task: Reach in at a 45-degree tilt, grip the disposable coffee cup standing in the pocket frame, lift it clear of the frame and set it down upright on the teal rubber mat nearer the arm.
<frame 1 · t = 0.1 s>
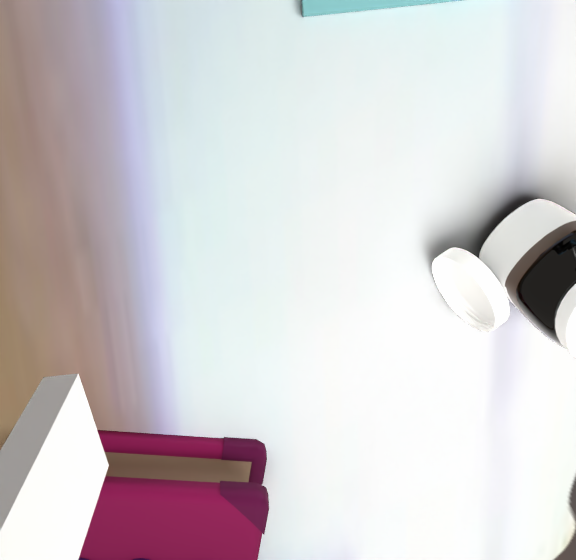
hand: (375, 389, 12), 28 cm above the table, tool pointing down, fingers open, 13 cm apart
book: (151, 531, 54), on the table
spread jar: (503, 258, 42), on the table
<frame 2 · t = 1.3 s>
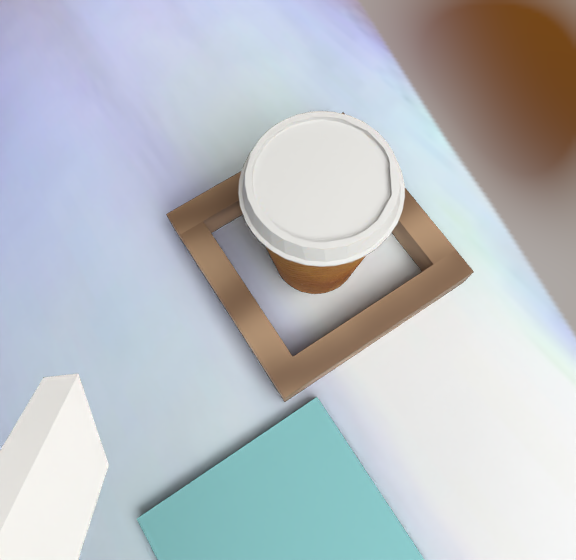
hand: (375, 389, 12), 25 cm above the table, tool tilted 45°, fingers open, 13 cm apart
disposable coffee cup: (315, 255, 40), resting in pocket frame
pocket frame: (315, 254, 40), on the table
mat: (287, 551, 34), on the table
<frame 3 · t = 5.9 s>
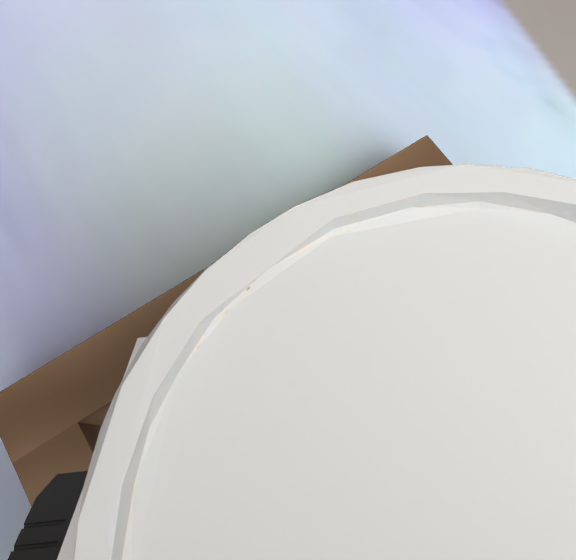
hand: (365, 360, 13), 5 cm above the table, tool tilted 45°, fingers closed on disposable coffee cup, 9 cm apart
disposable coffee cup: (363, 483, 17), resting in pocket frame, touching gripper
pocket frame: (363, 484, 16), on the table
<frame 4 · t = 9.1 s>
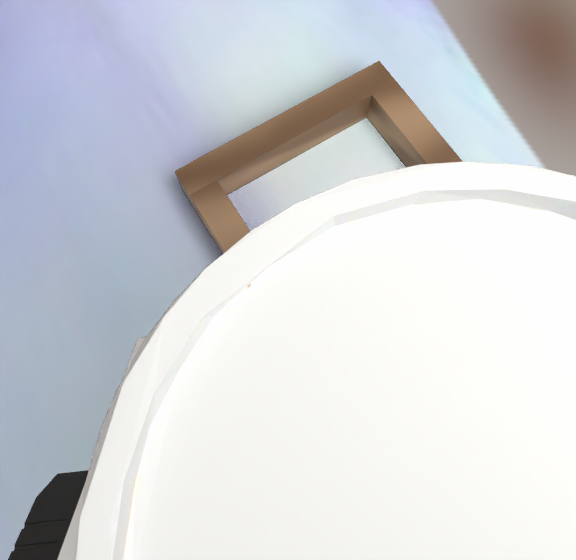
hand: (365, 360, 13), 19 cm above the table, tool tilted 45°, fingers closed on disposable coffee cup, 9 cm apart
disposable coffee cup: (363, 482, 17), point 14 cm above the table, touching gripper
pocket frame: (343, 222, 35), on the table
when the fingers open (7 cm above the table, at t = 12.7 s): disposable coffee cup drops 1 cm, resting on mat.
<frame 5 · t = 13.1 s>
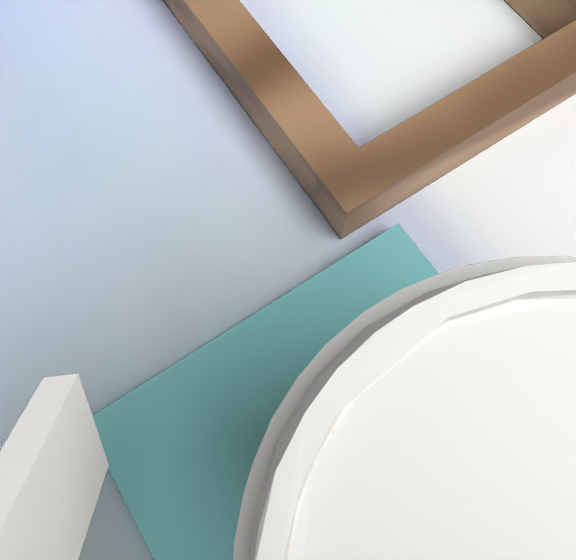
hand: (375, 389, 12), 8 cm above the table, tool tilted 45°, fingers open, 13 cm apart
disposable coffee cup: (439, 490, 18), point 1 cm above the table, touching mat
pocket frame: (381, 28, 25), on the table
mat: (354, 480, 19), on the table
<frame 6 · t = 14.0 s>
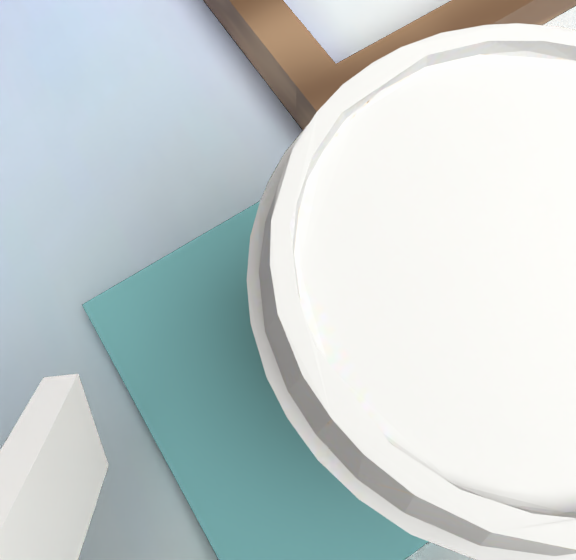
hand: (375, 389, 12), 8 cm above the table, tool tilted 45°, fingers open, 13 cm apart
disposable coffee cup: (403, 366, 20), point 1 cm above the table, touching gripper, mat
mat: (328, 361, 21), on the table
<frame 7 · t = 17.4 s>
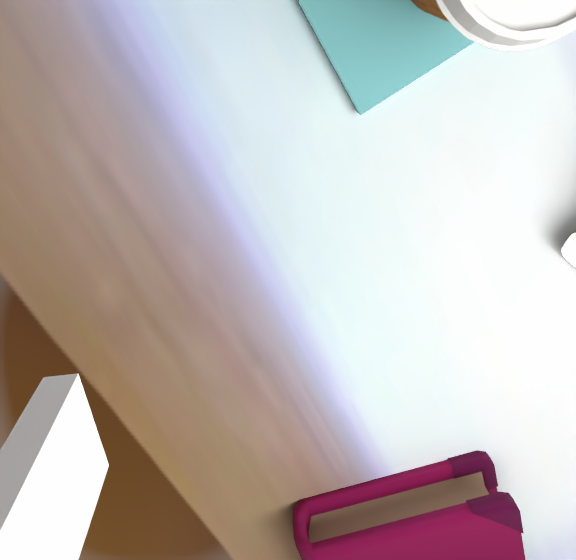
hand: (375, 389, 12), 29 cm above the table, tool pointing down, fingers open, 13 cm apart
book: (412, 553, 60), on the table
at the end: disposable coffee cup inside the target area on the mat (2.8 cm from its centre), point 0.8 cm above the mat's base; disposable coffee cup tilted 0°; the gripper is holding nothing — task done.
